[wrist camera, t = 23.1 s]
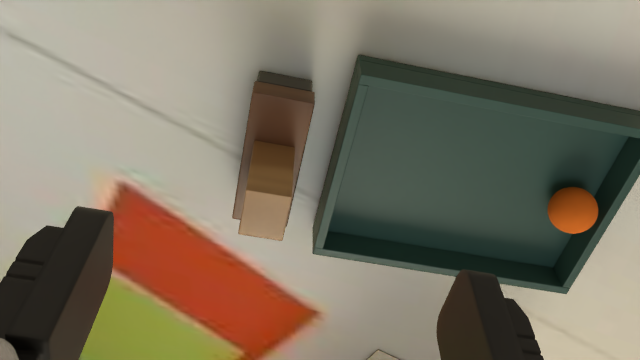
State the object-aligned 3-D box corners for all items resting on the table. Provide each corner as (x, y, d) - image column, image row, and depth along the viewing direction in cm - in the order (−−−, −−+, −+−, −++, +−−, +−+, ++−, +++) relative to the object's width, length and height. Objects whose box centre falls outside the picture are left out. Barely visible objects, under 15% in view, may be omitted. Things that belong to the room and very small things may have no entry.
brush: (257, 69, 35) (242, 137, 29) (314, 80, 36) (314, 150, 29) (237, 191, 40) (221, 273, 33) (288, 199, 41) (282, 282, 34)
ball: (582, 177, 39) (548, 178, 38) (616, 203, 37) (581, 204, 36) (564, 215, 41) (530, 216, 39) (595, 241, 38) (561, 244, 37)
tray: (358, 54, 35) (361, 74, 32) (643, 111, 37) (665, 133, 34) (312, 227, 42) (312, 254, 40) (553, 267, 44) (566, 294, 42)
